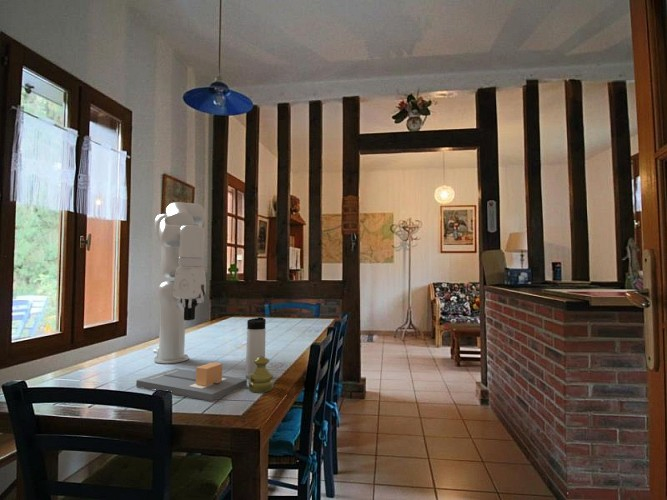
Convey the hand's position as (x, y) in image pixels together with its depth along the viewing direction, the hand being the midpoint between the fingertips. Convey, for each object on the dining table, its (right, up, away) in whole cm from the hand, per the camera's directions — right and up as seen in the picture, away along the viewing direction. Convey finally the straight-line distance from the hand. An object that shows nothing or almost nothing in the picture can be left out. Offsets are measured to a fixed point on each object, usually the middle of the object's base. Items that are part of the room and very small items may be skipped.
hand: (189, 319), depth 126 cm
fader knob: (+9, -18, -7) cm, 21 cm away
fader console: (+2, -20, -4) cm, 21 cm away
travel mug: (+20, -21, +7) cm, 30 cm away
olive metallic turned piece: (+24, -21, -6) cm, 33 cm away
